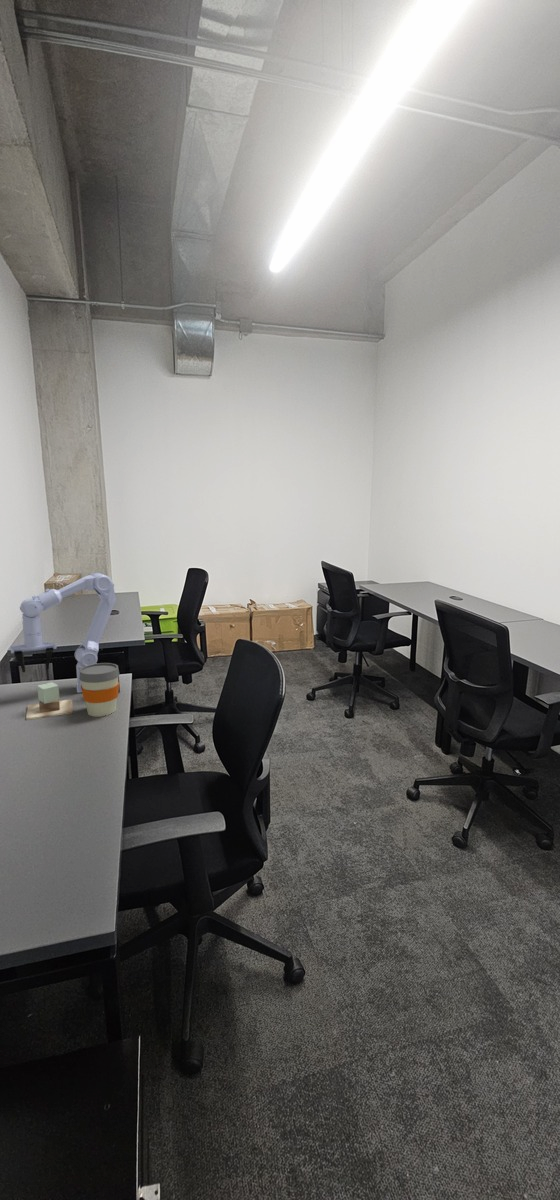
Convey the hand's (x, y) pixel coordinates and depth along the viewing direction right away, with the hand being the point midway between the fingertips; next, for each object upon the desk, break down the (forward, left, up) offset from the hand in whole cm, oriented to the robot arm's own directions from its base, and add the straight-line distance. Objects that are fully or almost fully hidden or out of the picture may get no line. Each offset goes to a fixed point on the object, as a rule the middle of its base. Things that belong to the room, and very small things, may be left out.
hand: (35, 670), depth 180 cm
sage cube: (-4, +14, -7) cm, 16 cm away
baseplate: (-4, +14, -10) cm, 18 cm away
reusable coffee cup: (-20, +22, -11) cm, 32 cm away
